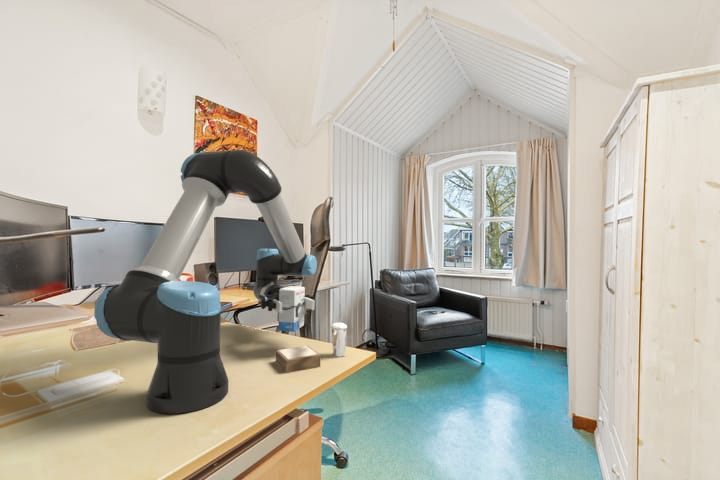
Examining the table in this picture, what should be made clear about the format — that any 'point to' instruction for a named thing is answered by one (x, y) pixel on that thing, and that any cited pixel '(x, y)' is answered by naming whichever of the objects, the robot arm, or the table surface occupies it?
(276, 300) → the robot arm
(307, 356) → the plinth
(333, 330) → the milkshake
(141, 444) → the table surface
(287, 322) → the ink box
